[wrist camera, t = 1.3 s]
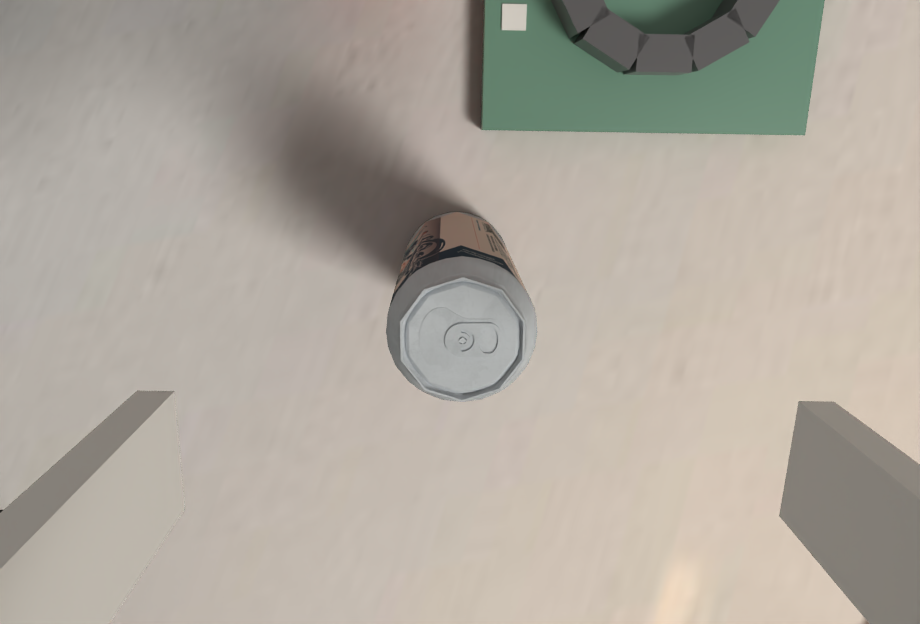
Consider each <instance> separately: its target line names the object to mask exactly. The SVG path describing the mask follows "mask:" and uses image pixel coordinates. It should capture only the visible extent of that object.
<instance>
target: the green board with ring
mask: <svg viewBox="0 0 920 624" xmlns="http://www.w3.org/2000/svg"><path fill="white" fill-rule="evenodd" d="M824 1H825V0H484V17H483V59H482V101H481V130H516V131H576V132H637V133H698V134H759V135H805V132H806V125H807V118H808V111H809V104H810V97H811V90H812V83H813V76H814V70H815V63H816V56H817V49H818V42H819V35H820V28H821V21H822V14H823V8H824Z"/></svg>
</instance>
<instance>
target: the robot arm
mask: <svg viewBox="0 0 920 624" xmlns="http://www.w3.org/2000/svg"><path fill="white" fill-rule="evenodd" d="M184 510H185V501H184V490H183V479H182V468H181V457H180V446H179V435H178V424H177V413H176V402H175V391H136V392H135V393H134V394H133V395H132V396H131V397H130V398H128V399H127V400H126V401H125V402H124V403H123V404H122V405H121V406H120V407H118V408H117V409H116V410H115V411H114V412H113V413H112V414H111V415H109V416H108V417H107V418H106V419H105V420H104V421H103V422H102V423H101V424H99V425H98V426H97V427H96V428H95V429H94V430H93V431H92V432H90V433H89V434H88V435H87V436H86V437H85V438H84V439H83V440H81V441H80V442H79V443H78V444H77V445H76V446H75V447H74V448H73V449H71V450H70V451H69V452H68V453H67V454H66V455H65V456H64V457H62V458H61V459H60V460H59V461H58V462H57V463H56V464H55V465H54V466H52V467H51V468H50V469H49V470H48V471H47V472H46V473H45V474H43V475H42V476H41V477H40V478H39V479H38V480H37V481H36V482H34V483H33V484H32V485H31V486H30V487H29V488H28V489H27V490H26V491H24V492H23V493H22V494H21V495H20V496H19V497H18V498H17V499H15V500H14V501H13V502H12V503H11V504H10V505H9V506H8V507H7V508H5V509H4V510H0V624H110V623H111V621H112V619H113V618H114V616H115V615H116V613H117V612H118V610H119V609H120V607H121V606H122V604H123V603H124V601H125V600H126V598H127V597H128V595H129V594H130V592H131V591H132V589H133V588H134V586H135V585H136V583H137V582H138V580H139V579H140V577H141V576H142V574H143V572H144V571H145V569H146V568H147V566H148V565H149V563H150V562H151V560H152V559H153V557H154V556H155V554H156V553H157V551H158V550H159V548H160V547H161V545H162V544H163V542H164V541H165V539H166V538H167V536H168V535H169V533H170V532H171V530H172V528H173V527H174V525H175V524H176V522H177V521H178V519H179V518H180V516H181V515H182V513H183V512H184ZM779 516H780V517H781V519H782V520H783V521H784V522H785V523H786V524H787V526H788V527H789V528H790V529H791V530H792V532H793V533H794V534H795V535H796V536H797V538H798V539H799V540H800V541H801V542H802V544H803V545H804V546H805V547H806V548H807V550H808V551H809V552H810V553H811V554H812V556H813V557H814V558H815V559H816V560H817V561H818V563H819V564H820V565H821V566H822V567H823V569H824V570H825V571H826V572H827V573H828V575H829V576H830V577H831V578H832V579H833V581H834V582H835V583H836V584H837V585H838V587H839V588H840V589H841V590H842V591H843V593H844V594H845V595H846V596H847V597H848V598H849V600H850V601H851V602H852V603H853V604H854V606H855V607H856V608H857V609H858V610H859V612H860V613H861V614H862V615H863V616H864V618H865V619H866V620H867V621H868V622H869V624H920V464H918V463H917V462H916V461H914V460H913V459H912V458H910V457H909V456H907V455H906V454H905V453H903V452H902V451H901V450H899V449H898V448H896V447H895V446H894V445H892V444H891V443H890V442H888V441H887V440H886V439H884V438H883V437H881V436H880V435H879V434H877V433H876V432H875V431H873V430H872V429H871V428H869V427H868V426H866V425H865V424H864V423H862V422H861V421H860V420H858V419H857V418H856V417H854V416H853V415H851V414H850V413H849V412H847V411H846V410H845V409H843V408H842V407H841V406H839V405H838V404H836V403H835V402H814V401H799V402H798V408H797V414H796V420H795V426H794V432H793V438H792V444H791V450H790V456H789V461H788V467H787V473H786V479H785V485H784V491H783V497H782V503H781V509H780V515H779Z"/></svg>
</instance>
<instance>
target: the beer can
mask: <svg viewBox="0 0 920 624" xmlns="http://www.w3.org/2000/svg"><path fill="white" fill-rule="evenodd" d="M386 334H387V342H388V347H389V350H390V353H391V355H392V358H393V360H394V363H395V365H396V366H397V368H398V369H399V370H400V371H401V373H402V374H403V375H404V376H405V377H406V379H407V380H408V381H409V382H410V383H411V384H413V385H414V386H415V387H417V388H418V389H419V390H421V391H423V392H425V393H427V394H429V395H432V396H434V397H437V398H439V399H442V400H450V401H458V402H465V401H472V400H480V399H483V398H486V397H488V396H491V395H493V394H496V393H498V392H500V391H502V390H503V389H505V388H506V387H507V386H509V385H510V384H511V383H513V382H514V381H515V380H516V378H517V377H518V376H519V375H520V374H521V372H522V371H523V370H524V369H525V367H526V366H527V364H528V363H529V360H530V358H531V356H532V353H533V351H534V348H535V343H536V337H537V320H536V313H535V309H534V306H533V304H532V302H531V299H530V297H529V295H528V293H527V291H526V289H525V287H524V285H523V283H522V280H521V278H520V276H519V274H518V272H517V270H516V268H515V265H514V263H513V261H512V259H511V257H510V255H509V253H508V250H507V248H506V246H505V244H504V241H503V239H502V237H501V236H500V235H499V233H498V232H497V231H496V230H495V228H494V227H493V226H492V225H491V224H490V223H488V222H487V221H485V220H483V219H482V218H480V217H478V216H475V215H472V214H469V213H464V212H449V213H445V214H441V215H438V216H435V217H433V218H432V219H430V220H428V221H426V222H425V223H424V224H423V225H421V226H420V227H419V229H418V230H417V231H416V232H415V234H414V235H413V236H412V238H411V240H410V242H409V244H408V246H407V249H406V252H405V255H404V259H403V262H402V266H401V269H400V273H399V276H398V280H397V283H396V287H395V290H394V294H393V297H392V300H391V304H390V307H389V311H388V317H387V328H386Z"/></svg>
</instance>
